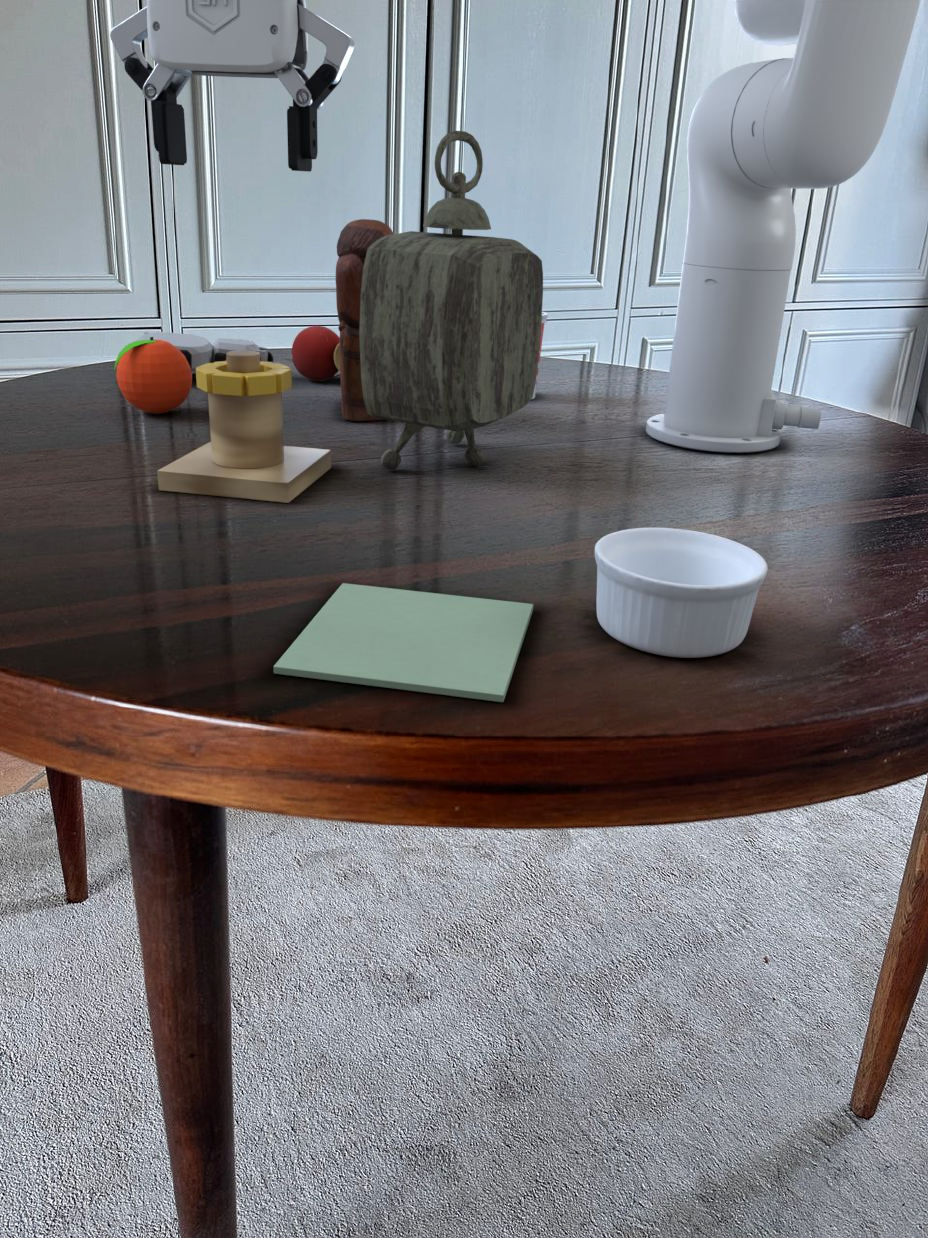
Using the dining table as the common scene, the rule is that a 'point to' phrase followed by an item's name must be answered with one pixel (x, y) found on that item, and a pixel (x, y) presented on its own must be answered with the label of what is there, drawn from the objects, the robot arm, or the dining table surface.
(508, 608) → the mat
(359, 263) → the wooden figurine
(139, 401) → the clementine
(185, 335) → the robot toy
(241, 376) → the ring
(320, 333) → the kendama
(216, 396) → the stand
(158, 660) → the dining table surface
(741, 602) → the ramekin
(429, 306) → the tabletop clock
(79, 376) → the dining table surface
